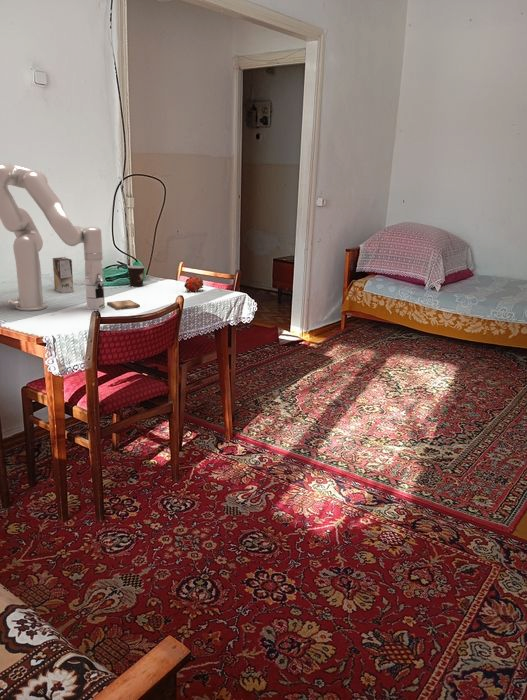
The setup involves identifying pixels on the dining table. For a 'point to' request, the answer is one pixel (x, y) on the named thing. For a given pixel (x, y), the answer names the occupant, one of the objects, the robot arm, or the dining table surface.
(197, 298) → the dining table surface
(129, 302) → the walnut board
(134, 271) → the coffee mug
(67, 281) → the coffee box
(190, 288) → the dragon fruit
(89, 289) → the syrup box
